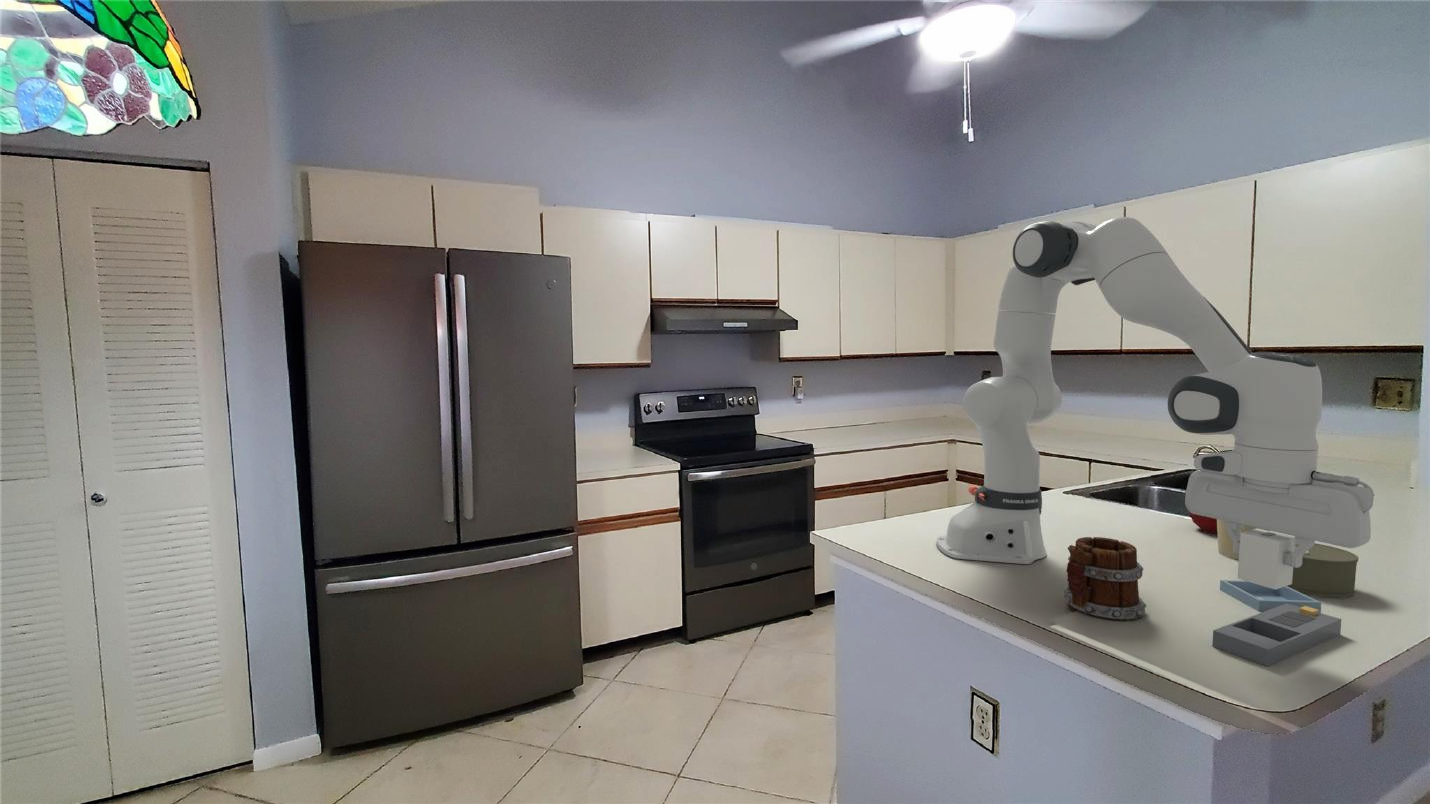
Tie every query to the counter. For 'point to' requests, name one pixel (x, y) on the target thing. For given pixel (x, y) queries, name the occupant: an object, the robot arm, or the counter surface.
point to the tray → (1266, 595)
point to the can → (1325, 572)
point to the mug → (1104, 579)
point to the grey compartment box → (1277, 633)
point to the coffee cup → (1228, 539)
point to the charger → (1265, 558)
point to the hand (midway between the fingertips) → (1265, 559)
